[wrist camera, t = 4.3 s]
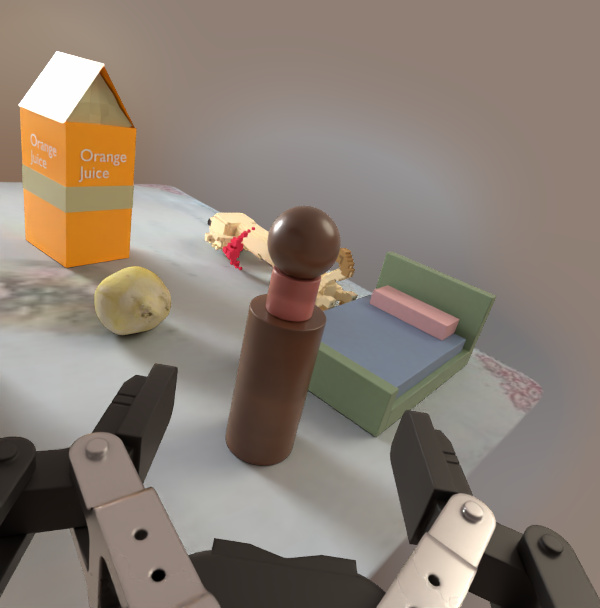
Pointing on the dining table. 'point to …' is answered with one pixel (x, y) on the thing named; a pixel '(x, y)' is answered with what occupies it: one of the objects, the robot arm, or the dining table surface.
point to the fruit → (132, 301)
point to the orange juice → (77, 163)
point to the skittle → (282, 338)
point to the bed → (373, 388)
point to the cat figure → (251, 237)
